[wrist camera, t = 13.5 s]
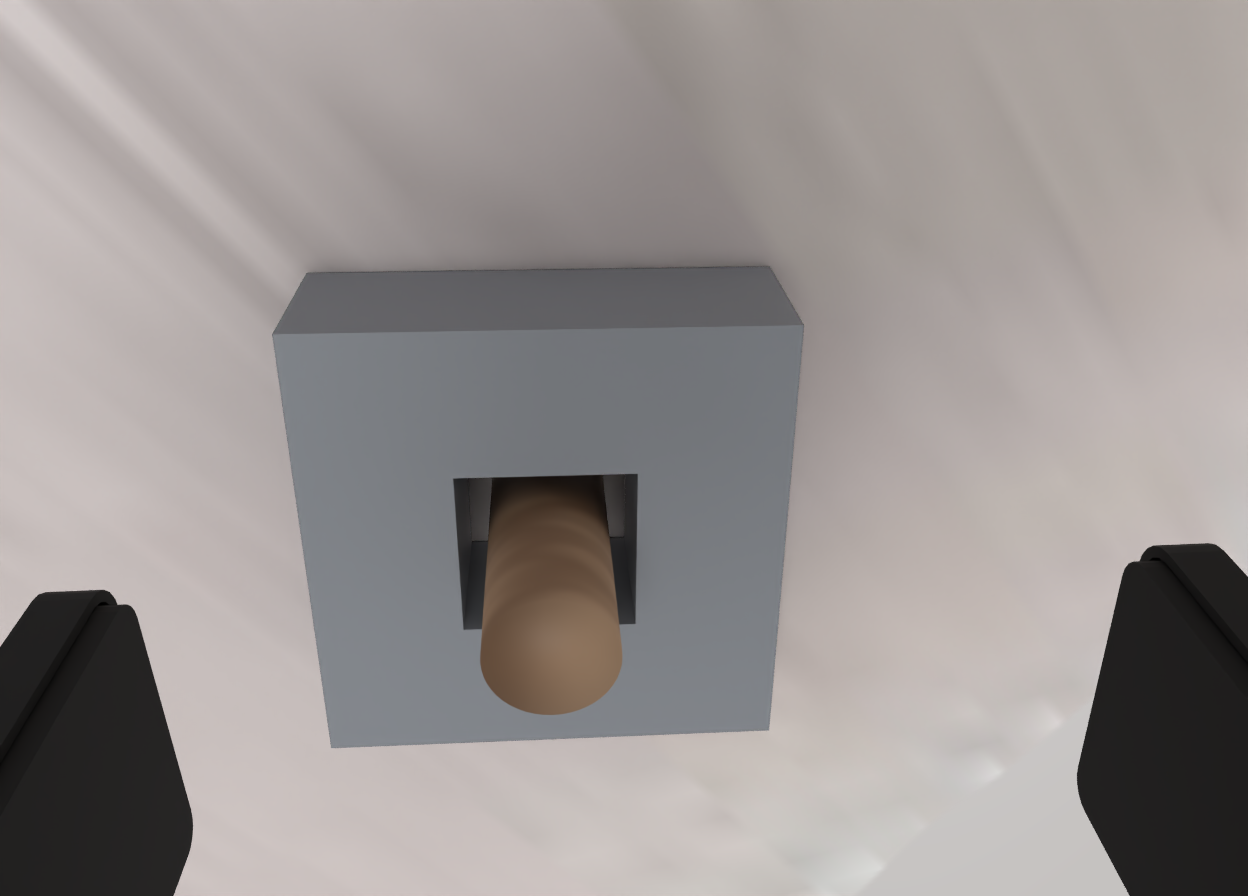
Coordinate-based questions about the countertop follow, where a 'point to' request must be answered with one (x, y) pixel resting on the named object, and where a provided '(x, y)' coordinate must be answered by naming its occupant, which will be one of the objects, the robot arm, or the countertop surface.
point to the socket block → (540, 446)
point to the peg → (549, 595)
